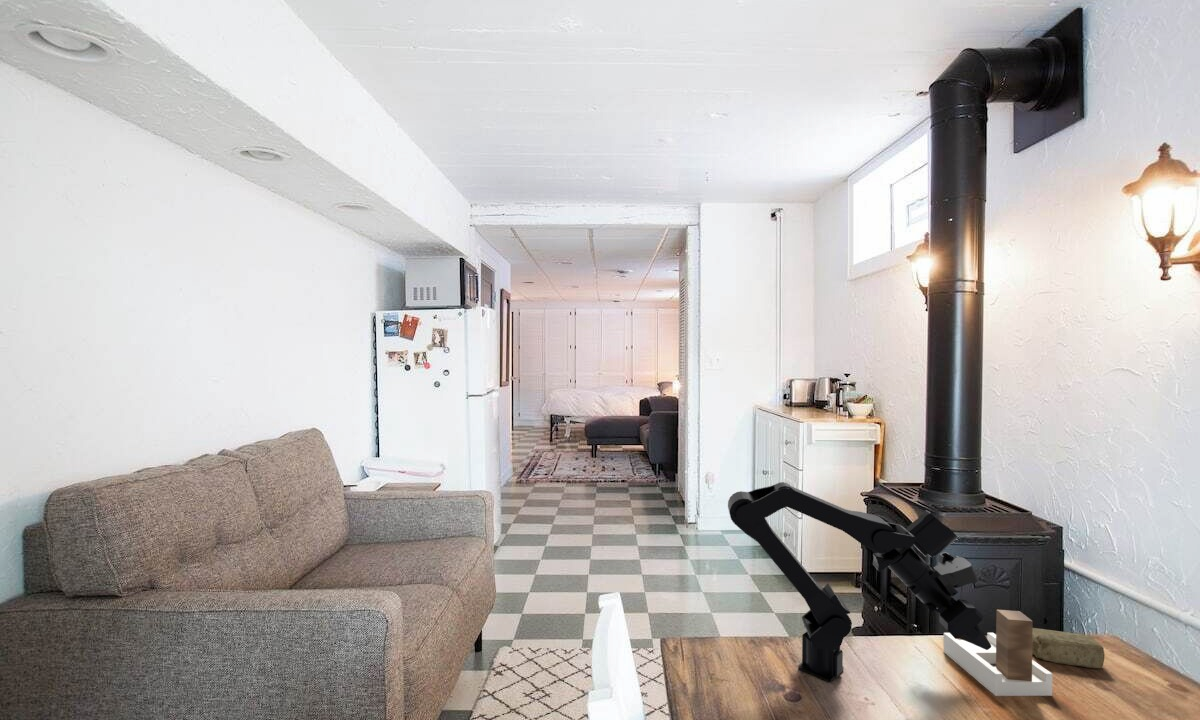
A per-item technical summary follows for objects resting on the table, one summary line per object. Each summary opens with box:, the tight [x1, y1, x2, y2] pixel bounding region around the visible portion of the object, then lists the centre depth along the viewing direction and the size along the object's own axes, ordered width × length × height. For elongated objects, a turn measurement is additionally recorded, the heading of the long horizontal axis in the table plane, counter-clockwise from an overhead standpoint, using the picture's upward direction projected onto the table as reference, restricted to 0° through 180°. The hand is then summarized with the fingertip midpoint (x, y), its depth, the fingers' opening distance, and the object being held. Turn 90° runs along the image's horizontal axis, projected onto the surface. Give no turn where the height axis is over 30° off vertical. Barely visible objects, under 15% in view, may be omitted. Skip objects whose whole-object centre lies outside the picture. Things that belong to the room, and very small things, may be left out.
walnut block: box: [995, 609, 1034, 681], centre depth 104 cm, size 4×4×11 cm
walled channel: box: [942, 632, 1053, 697], centre depth 109 cm, size 10×15×4 cm
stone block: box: [1032, 627, 1105, 669], centre depth 114 cm, size 6×12×5 cm, turn 72°
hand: (976, 635), depth 105 cm, fingers open, 9 cm apart
